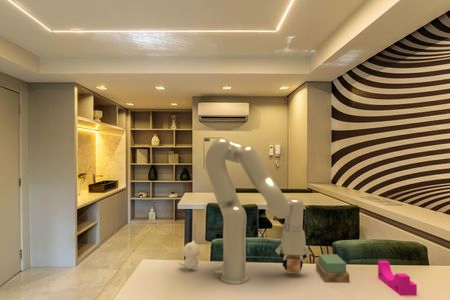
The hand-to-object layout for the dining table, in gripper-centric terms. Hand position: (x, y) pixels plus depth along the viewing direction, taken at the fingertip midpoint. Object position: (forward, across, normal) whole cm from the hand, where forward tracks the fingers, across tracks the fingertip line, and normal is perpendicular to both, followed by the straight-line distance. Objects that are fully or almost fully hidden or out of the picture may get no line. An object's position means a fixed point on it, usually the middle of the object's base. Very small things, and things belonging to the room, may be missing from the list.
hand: (292, 268), depth 121 cm
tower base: (+3, +17, 0) cm, 17 cm away
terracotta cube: (+1, 0, 0) cm, 1 cm away
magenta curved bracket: (+2, +40, -8) cm, 40 cm away
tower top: (-1, +17, 0) cm, 17 cm away
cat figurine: (+5, -46, +4) cm, 47 cm away
